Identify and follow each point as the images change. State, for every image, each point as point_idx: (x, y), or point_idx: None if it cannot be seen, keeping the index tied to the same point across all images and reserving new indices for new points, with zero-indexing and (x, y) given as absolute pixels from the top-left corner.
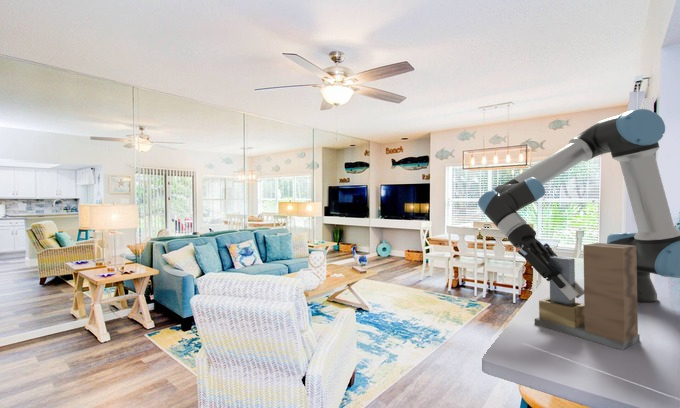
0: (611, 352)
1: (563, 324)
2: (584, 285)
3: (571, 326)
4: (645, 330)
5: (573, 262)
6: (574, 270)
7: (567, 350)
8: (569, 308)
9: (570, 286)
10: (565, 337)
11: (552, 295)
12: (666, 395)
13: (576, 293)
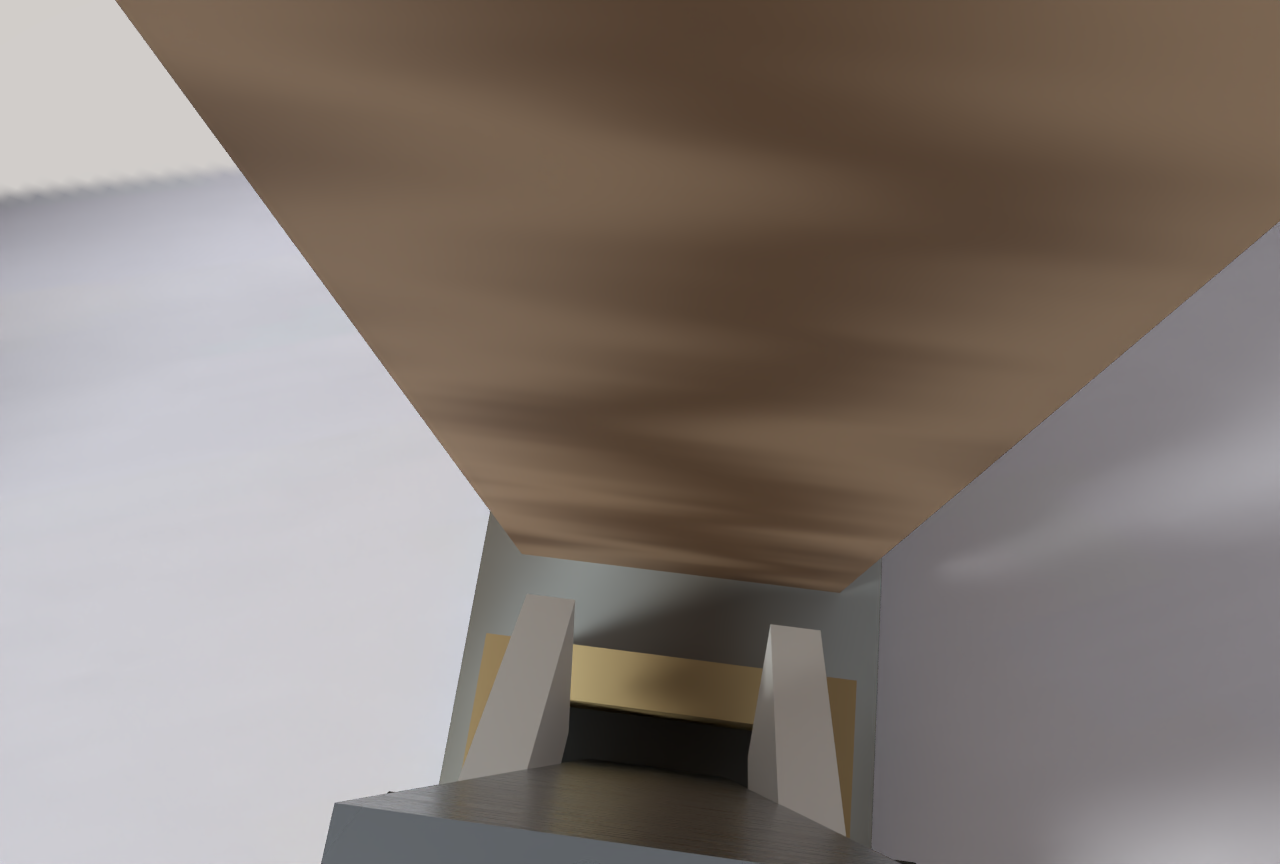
0: None
1: None
2: (1024, 431)
3: None
4: (198, 323)
5: (496, 804)
6: (478, 782)
7: (1257, 614)
8: (851, 747)
9: (827, 760)
10: (956, 735)
11: None
12: None
13: (821, 654)
